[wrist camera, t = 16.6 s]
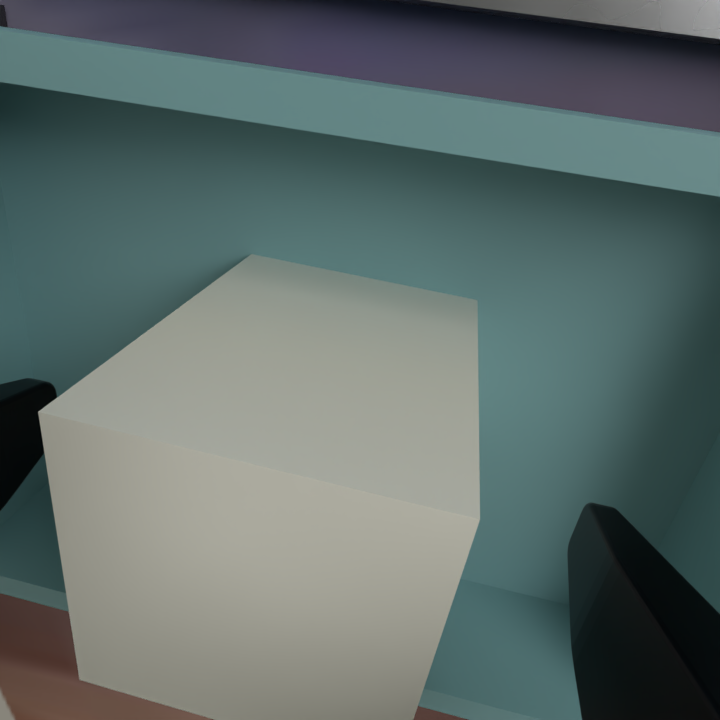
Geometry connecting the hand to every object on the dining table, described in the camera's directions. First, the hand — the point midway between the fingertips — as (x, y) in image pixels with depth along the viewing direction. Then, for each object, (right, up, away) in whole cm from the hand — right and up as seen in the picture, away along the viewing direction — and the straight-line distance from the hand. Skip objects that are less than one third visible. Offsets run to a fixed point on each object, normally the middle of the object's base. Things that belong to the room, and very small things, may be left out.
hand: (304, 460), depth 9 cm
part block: (+1, +1, +3) cm, 3 cm away
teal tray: (+1, +2, +5) cm, 6 cm away
